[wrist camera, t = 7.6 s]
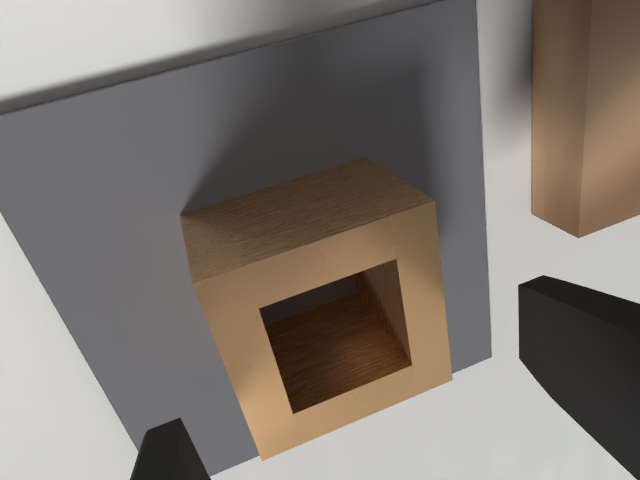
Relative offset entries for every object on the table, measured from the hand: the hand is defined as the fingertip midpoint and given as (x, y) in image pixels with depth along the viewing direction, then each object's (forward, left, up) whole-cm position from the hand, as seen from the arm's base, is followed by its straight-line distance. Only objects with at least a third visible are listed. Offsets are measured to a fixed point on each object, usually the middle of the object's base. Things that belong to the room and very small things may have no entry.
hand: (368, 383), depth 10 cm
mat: (0, 0, -5) cm, 5 cm away
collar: (0, 0, -5) cm, 5 cm away
